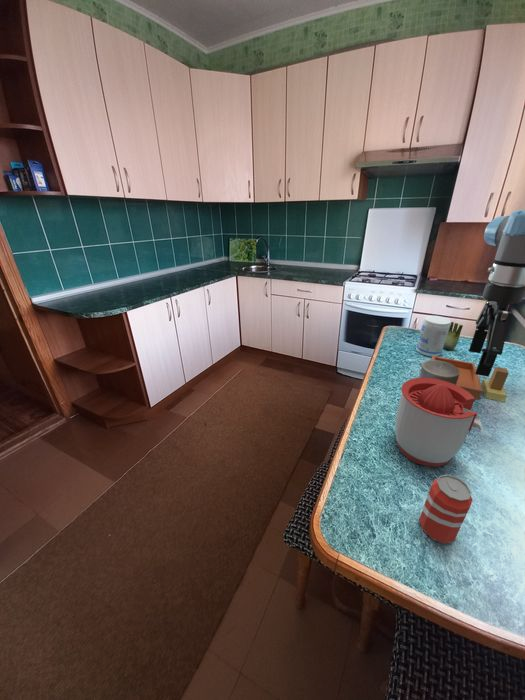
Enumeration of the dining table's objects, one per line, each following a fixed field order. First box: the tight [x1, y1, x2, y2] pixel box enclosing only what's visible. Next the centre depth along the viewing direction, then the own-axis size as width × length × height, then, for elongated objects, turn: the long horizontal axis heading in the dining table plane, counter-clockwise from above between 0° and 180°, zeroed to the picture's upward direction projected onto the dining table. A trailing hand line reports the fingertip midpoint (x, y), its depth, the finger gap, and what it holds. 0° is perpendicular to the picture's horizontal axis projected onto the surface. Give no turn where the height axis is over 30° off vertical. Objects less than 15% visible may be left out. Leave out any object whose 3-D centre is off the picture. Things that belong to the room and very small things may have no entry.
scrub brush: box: [481, 366, 510, 403], centre depth 93 cm, size 5×8×9 cm, turn 153°
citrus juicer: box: [394, 377, 483, 468], centre depth 69 cm, size 16×17×20 cm
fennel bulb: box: [443, 321, 464, 351], centre depth 122 cm, size 6×5×12 cm
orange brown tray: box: [431, 356, 483, 400], centre depth 102 cm, size 14×20×3 cm
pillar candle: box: [418, 359, 460, 385], centre depth 87 cm, size 10×10×15 cm
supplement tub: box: [415, 315, 452, 357], centre depth 118 cm, size 10×10×15 cm
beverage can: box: [418, 474, 473, 544], centre depth 54 cm, size 6×6×12 cm
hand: (477, 362), depth 77 cm, fingers open, 13 cm apart
